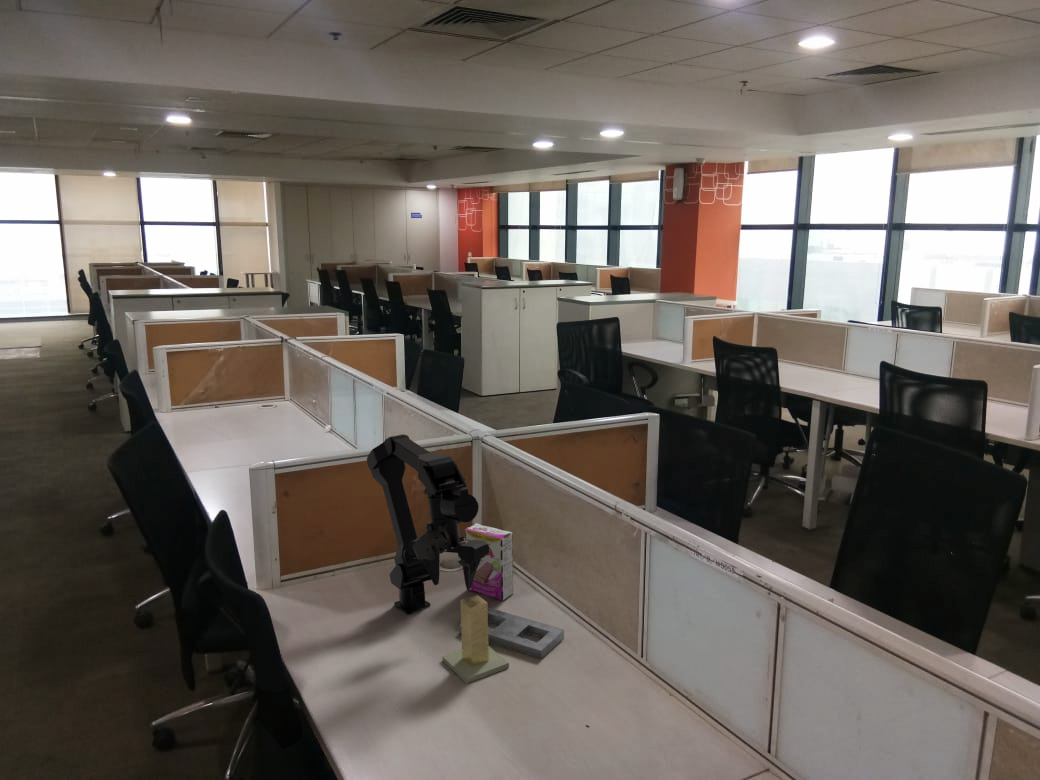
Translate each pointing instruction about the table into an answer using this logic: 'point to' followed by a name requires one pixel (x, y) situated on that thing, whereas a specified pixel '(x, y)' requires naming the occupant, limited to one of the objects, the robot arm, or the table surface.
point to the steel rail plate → (522, 634)
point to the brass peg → (474, 630)
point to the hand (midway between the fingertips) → (452, 586)
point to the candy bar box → (493, 562)
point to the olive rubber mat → (477, 671)
